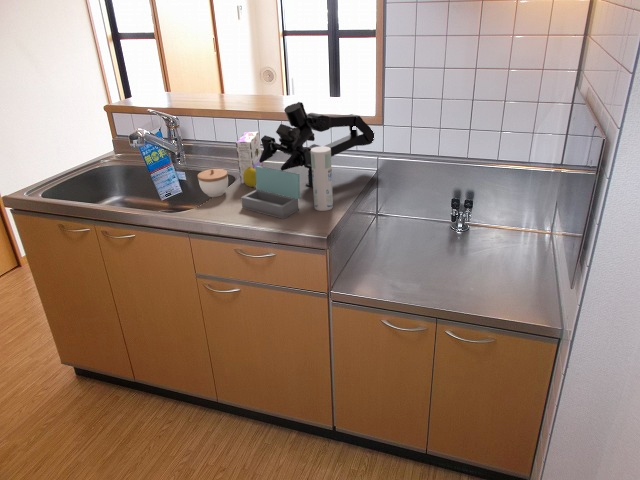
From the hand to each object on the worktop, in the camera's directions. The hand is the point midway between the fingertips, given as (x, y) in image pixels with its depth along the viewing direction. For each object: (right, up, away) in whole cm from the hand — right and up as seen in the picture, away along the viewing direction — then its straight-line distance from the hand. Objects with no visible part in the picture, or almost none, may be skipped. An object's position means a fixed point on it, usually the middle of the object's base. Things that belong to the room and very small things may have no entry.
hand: (270, 165), depth 170 cm
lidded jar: (-22, -8, +18) cm, 30 cm away
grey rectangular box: (0, -14, +3) cm, 15 cm away
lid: (+2, -5, +3) cm, 6 cm away
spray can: (+18, -14, +2) cm, 22 cm away
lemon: (-9, -5, +22) cm, 24 cm away
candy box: (-10, 0, +32) cm, 33 cm away
